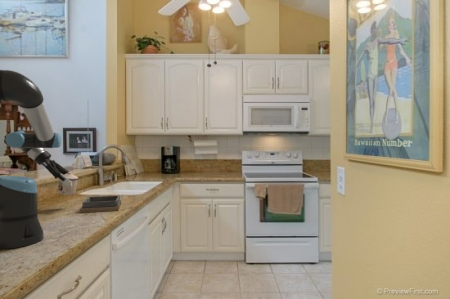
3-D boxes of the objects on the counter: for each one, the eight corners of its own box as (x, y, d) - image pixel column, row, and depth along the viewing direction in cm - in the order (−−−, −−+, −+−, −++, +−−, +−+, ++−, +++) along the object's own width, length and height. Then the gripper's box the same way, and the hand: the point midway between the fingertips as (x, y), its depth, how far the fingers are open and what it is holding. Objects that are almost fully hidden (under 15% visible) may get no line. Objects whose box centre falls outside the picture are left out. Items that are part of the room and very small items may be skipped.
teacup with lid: (55, 190, 155) (58, 169, 154) (73, 191, 161) (77, 170, 160) (59, 196, 146) (62, 174, 145) (78, 196, 151) (81, 175, 151)
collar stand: (118, 210, 149) (118, 201, 149) (80, 213, 144) (80, 203, 144) (121, 203, 168) (121, 194, 168) (88, 205, 163) (88, 196, 163)
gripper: (42, 159, 160) (72, 185, 164) (25, 161, 137) (60, 191, 141) (52, 150, 161) (82, 176, 166) (37, 150, 139) (72, 180, 143)
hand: (72, 183), depth 154 cm, fingers closed on teacup with lid, 11 cm apart
